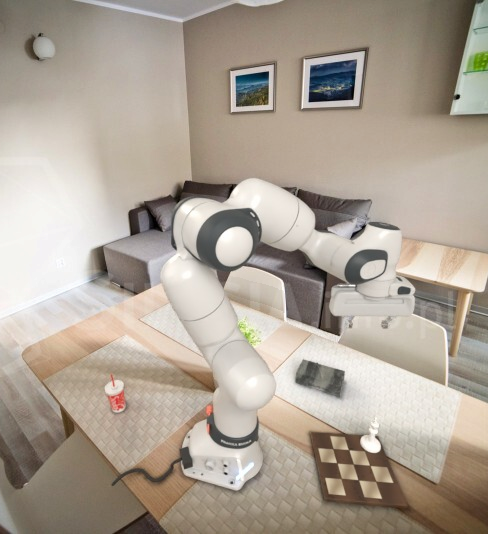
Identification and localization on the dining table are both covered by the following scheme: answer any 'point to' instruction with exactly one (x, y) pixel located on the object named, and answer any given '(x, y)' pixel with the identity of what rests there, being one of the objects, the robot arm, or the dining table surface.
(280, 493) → the dining table surface
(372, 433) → the chess piece
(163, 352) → the dining table surface
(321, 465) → the game board
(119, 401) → the beverage cup
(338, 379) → the stone block
